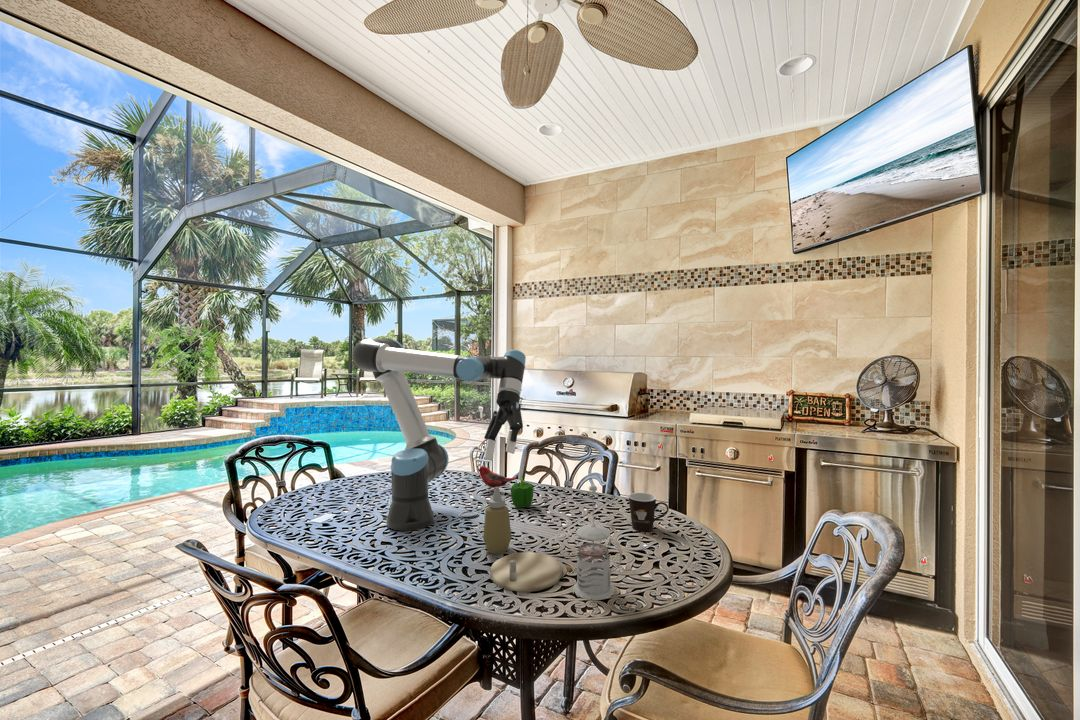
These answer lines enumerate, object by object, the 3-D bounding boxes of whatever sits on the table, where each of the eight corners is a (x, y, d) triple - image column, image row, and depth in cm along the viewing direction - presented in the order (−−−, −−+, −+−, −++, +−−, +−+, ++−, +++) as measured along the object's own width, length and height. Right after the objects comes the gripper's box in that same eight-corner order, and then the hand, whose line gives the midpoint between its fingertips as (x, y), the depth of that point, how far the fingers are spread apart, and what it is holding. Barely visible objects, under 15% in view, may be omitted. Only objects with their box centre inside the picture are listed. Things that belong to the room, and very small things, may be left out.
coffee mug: (623, 528, 150) (623, 497, 150) (637, 520, 156) (637, 491, 156) (656, 538, 142) (656, 505, 142) (670, 530, 148) (670, 498, 148)
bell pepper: (531, 510, 167) (530, 482, 167) (508, 509, 169) (508, 481, 168) (535, 503, 175) (535, 476, 175) (514, 501, 177) (514, 475, 177)
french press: (577, 576, 119) (577, 478, 118) (624, 583, 115) (624, 481, 115) (568, 596, 109) (568, 489, 109) (619, 604, 106) (618, 493, 105)
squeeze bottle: (478, 553, 133) (477, 490, 132) (491, 542, 140) (490, 482, 140) (504, 557, 130) (503, 492, 129) (516, 546, 137) (515, 484, 137)
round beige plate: (477, 581, 116) (476, 557, 116) (512, 553, 133) (512, 531, 133) (543, 598, 109) (542, 572, 108) (572, 565, 125) (572, 543, 125)
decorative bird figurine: (478, 489, 193) (478, 464, 193) (520, 492, 188) (519, 467, 188) (475, 491, 190) (475, 466, 190) (517, 494, 186) (517, 469, 185)
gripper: (539, 387, 149) (530, 452, 140) (500, 406, 168) (489, 465, 159) (519, 379, 146) (509, 445, 136) (481, 400, 165) (470, 459, 155)
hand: (498, 456), depth 147 cm, fingers open, 13 cm apart
